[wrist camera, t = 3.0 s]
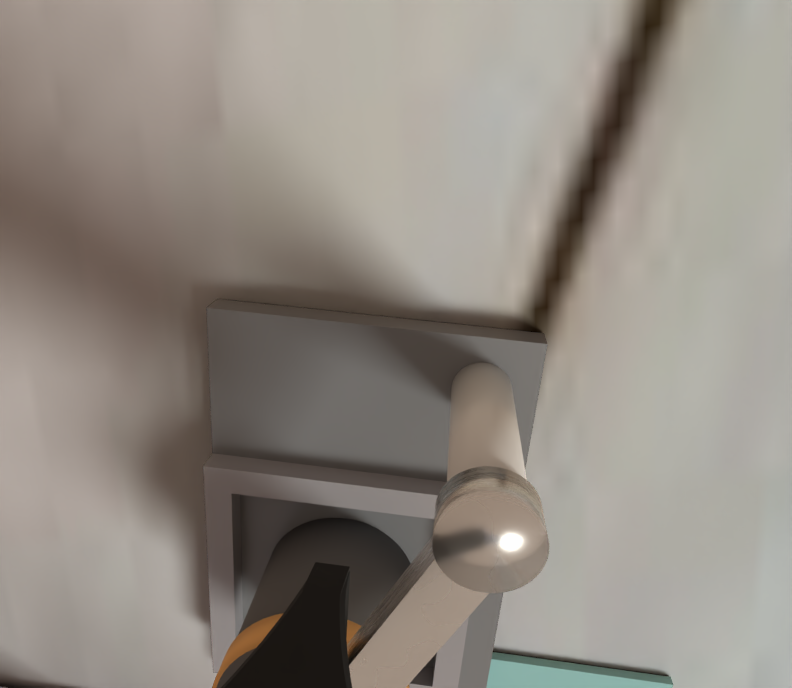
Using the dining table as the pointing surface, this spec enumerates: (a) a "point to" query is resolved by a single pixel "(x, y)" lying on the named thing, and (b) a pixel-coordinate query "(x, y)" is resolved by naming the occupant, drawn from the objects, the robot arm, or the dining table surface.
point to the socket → (354, 442)
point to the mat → (564, 675)
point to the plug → (290, 567)
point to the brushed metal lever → (452, 574)
